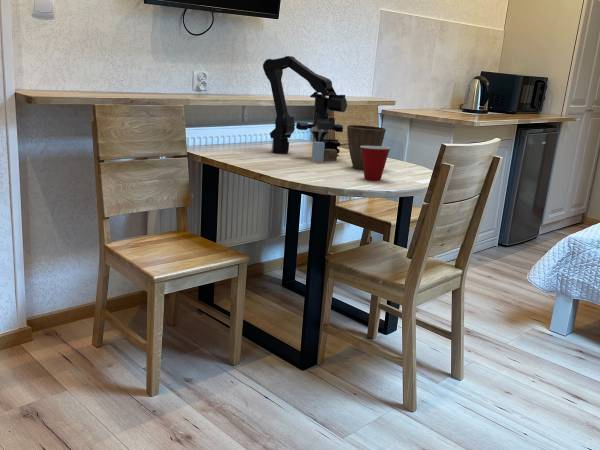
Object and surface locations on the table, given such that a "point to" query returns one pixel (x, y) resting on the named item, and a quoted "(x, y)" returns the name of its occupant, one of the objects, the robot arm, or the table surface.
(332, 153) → the walnut block
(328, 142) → the end cap
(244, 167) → the table surface
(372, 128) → the plant pot
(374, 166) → the plastic cup
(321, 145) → the slate block
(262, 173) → the table surface
